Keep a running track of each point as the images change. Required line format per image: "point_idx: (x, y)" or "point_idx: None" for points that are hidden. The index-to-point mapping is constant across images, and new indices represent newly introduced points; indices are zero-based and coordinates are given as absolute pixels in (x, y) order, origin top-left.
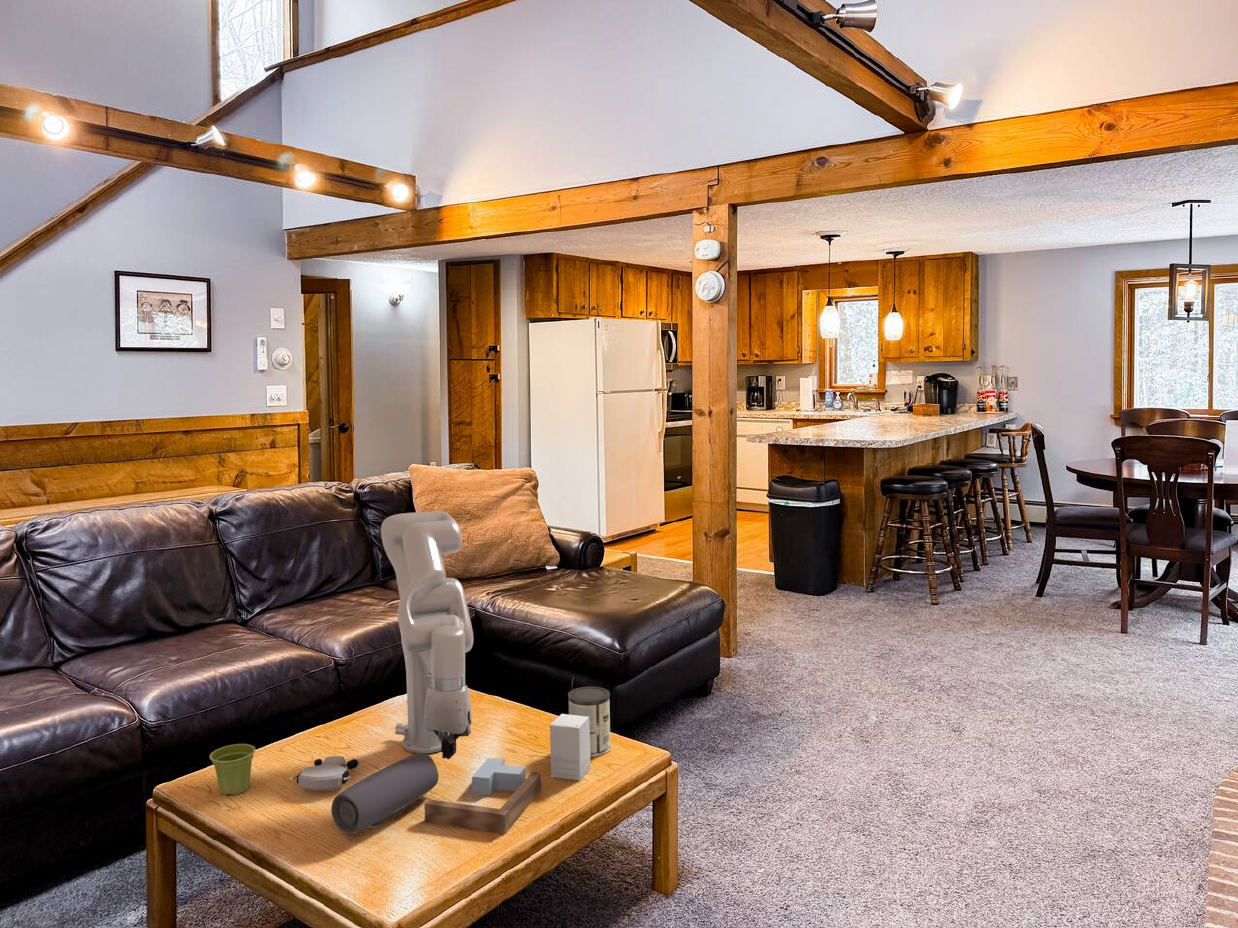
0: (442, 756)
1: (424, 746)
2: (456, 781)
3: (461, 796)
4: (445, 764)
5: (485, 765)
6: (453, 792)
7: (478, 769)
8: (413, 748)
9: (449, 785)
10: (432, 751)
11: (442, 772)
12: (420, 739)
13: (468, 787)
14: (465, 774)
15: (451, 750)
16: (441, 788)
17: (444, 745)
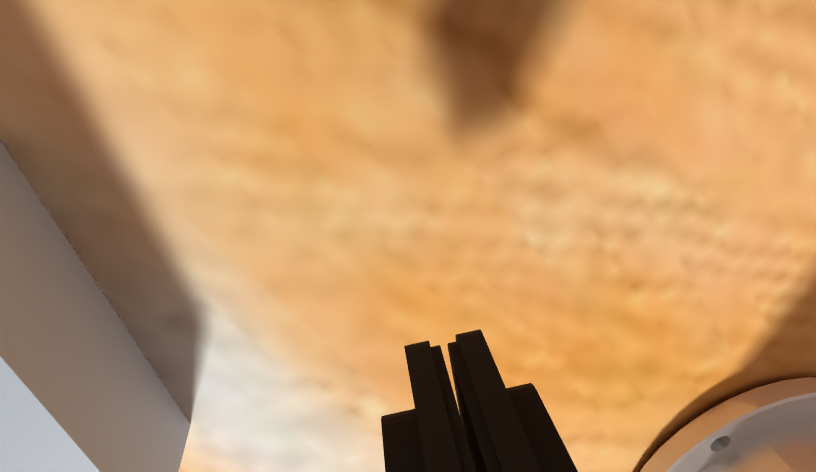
0: (483, 337)
1: (751, 441)
2: (311, 245)
3: (39, 42)
4: (539, 377)
5: (38, 453)
6: (179, 77)
7: (13, 369)
8: (804, 400)
9: (312, 167)
10: (684, 433)
11: (496, 296)
12: (811, 470)
13: (143, 214)
14: (330, 349)
15: (404, 444)
16: (335, 91)
17: (500, 462)
